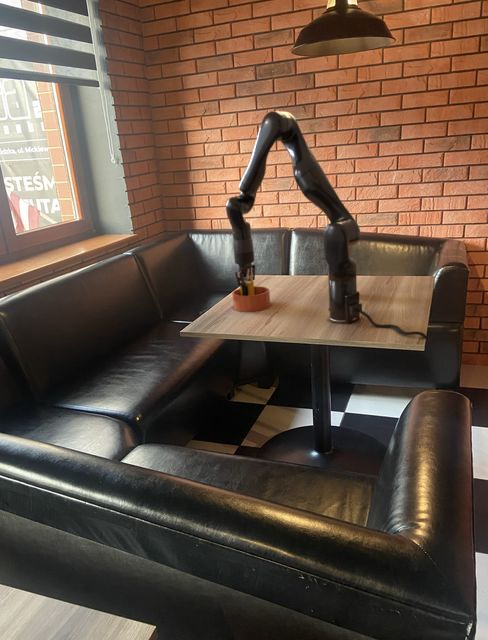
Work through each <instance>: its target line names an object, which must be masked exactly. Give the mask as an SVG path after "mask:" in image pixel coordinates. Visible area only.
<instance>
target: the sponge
mask: <svg viewBox="0 0 488 640" xmlns="http://www.w3.org/2000/svg"><path fill="white" fill-rule="evenodd" d="M247 287H248V296H252V295H255V294H254V287H255V285H254V280H253V281H247ZM239 289H240V290H241V296H243V295H242V286H239Z"/></svg>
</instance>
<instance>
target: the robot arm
mask: <svg viewBox="0 0 488 640" xmlns="http://www.w3.org/2000/svg"><path fill="white" fill-rule="evenodd" d="M277 142H280V143H281V144H282V145H283V146H284V148H285V149H286V151H287V153H288V154H289V157H290V160H291V166H292V175H293V178H294V181H295V183H296V185H297V186H298V188H299V190H300V191H301V193H302V195H304V197H305V198H306V199H307V200H308V201H309V202H310V203H311V204H313V205H314V206H315V207H316V208H318V209H319V210H320V211H321V212H322V213H323V214H324V215H325V216H326V217H327V219H328V220H329V222H330V223H327V225H326V226H325V228H324V230H323V236H322V237H323V239H322V241H323V251H324V260H325V263H326V265H327V280H328V281H327V282H328V312H329V317H328V318H329V321H330V322H333V323H337V324H350V323H353V322H356V321H357V320H360V319H361V315H363V316H364V317H366V319H367V320H368V321H369V322H370V324H371V325H372V326H374V327H376V328H393V329H395V330H397V331H398V332H399V333H400V334H402V335H404V336H412V335H419V336H421V337H422V338H423V339H425V340H428V339H429V338H428V336H427V335H426V334H425V333H424V332H422V331H417V330H416V331H415V330H414V331H413V330H412V331H405V330H402V329H401V328H400V326H398V325H397V324H379V323H376V322H374V320H373V319H372V317H371V316H370V315H369V314H368V313H366V311H363V303H362V302H360V291H359V290H358V287H357V285H358V283H357V277H358V276H357V261H356V260H355V259H354V258H353V259H352V258H350V257H349V250H348V247H351V246H352V247H353V246H355V245H357V244H358V243H359V241H360V240H361V234H362V233H361V229H360V226H359V224H358V222H357V221H356V219H355V218H354V216H353V215H352V214H351V212H350V211H349V210H348V209H347V207H346V206H345V204H344V203H343V202H342V200H341V198H340V197H339V195H338V194H337V192H336V190H335V189H334V187H333V185H332V184H331V182H330V180H329V178H328V177H327V174H326V173H325V172H324V170H323V168H322V166H321V165H320V163H319V162H318V159H317V158H316V156H315V155H314V153H313V152H312V150H311V148H310V146H309V145H308V143H307V141H306V139H305V137H304V134H303V132H302V130H301V127H300V125H299V123H298V122H297V119H296V118H295V116H294V115H293V114H291V113H290V112H288V111H283V110H282V111H281V110H280V111H279V110H272V111H271V110H270V111H269V112H267V113H266V114H265V115H264V116H263V119H262V120H261V123H260V125H259V129H258V133H257V136H256V139H255V142H254V146H253V149H252V153H251V156H250V159H249V161H248V163H247V166H246V168H245V170H244V173H243V174H242V177H241V179H240V181H239V183H238V189H239V191H240V194H239V195H236V196H232V197H229V198H228V199H227V201H226V204H225V212H226V216H227V218H228V221H229V224H230V227H231V231H232V249H233V255H234V256H233V258H234V263H235V264H236V265H238V271H235V279H236V282H237V285H238V287H240V286H242V295H243V296H248V287H247V281H253V282H254V281H255V279H256V264H252V263H254V262H255V251H254V241H253V237H252V235H253V234H252V226H251V224H250V222H249V221H245V218H244V215H247V214H249V213H250V212H251V211H252V210H253V207H254V206H255V202H256V198H257V194H258V191H259V189H260V187H261V185H262V183H263V181H264V179H265V176H266V173H267V172H266V171H267V162H268V156H269V153H270V151H271V149H272V148H273V147H274V145H275V143H277Z"/></svg>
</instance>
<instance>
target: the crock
mask: <svg viewBox="0 0 488 640" xmlns="http://www.w3.org/2000/svg"><path fill="white" fill-rule="evenodd" d="M254 294H255V295H252V296H241V290H240V288H237V289H235V290H233V291H232V303H233V309H234V310H235V311H238V312H247V313H248V312H257V311H261V310H265V309H267V308H270V306H271V293H270V289H269V287H266V286H259V285H258V286H257V285H256V286H255V285H254Z"/></svg>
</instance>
